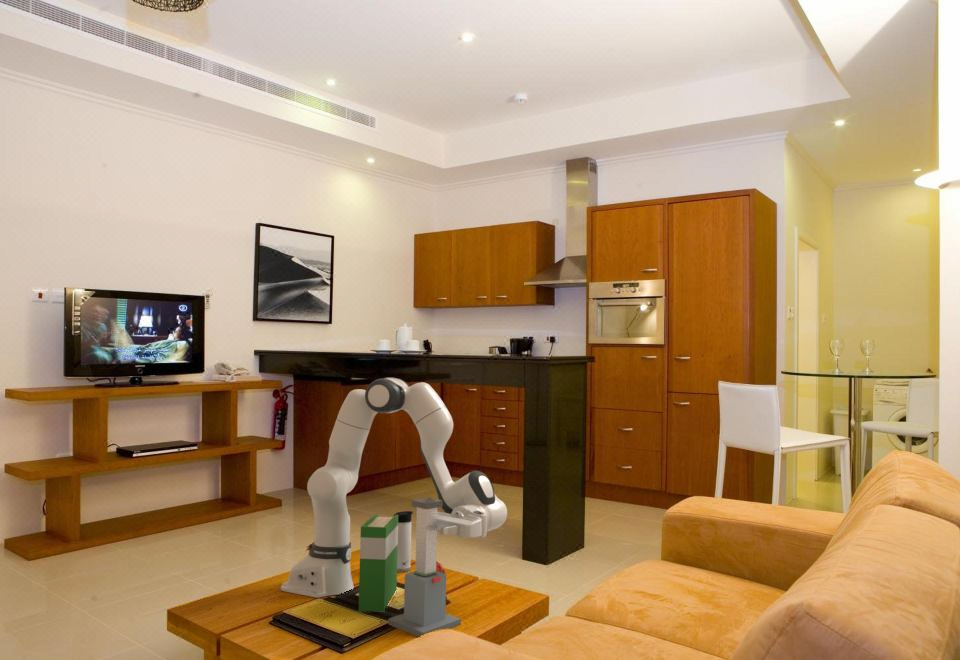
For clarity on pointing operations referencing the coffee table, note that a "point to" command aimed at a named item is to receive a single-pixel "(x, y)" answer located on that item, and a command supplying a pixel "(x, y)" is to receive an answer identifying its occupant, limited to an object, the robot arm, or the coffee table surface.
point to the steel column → (426, 536)
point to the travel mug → (404, 541)
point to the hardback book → (378, 562)
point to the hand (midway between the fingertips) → (430, 528)
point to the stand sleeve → (424, 605)
